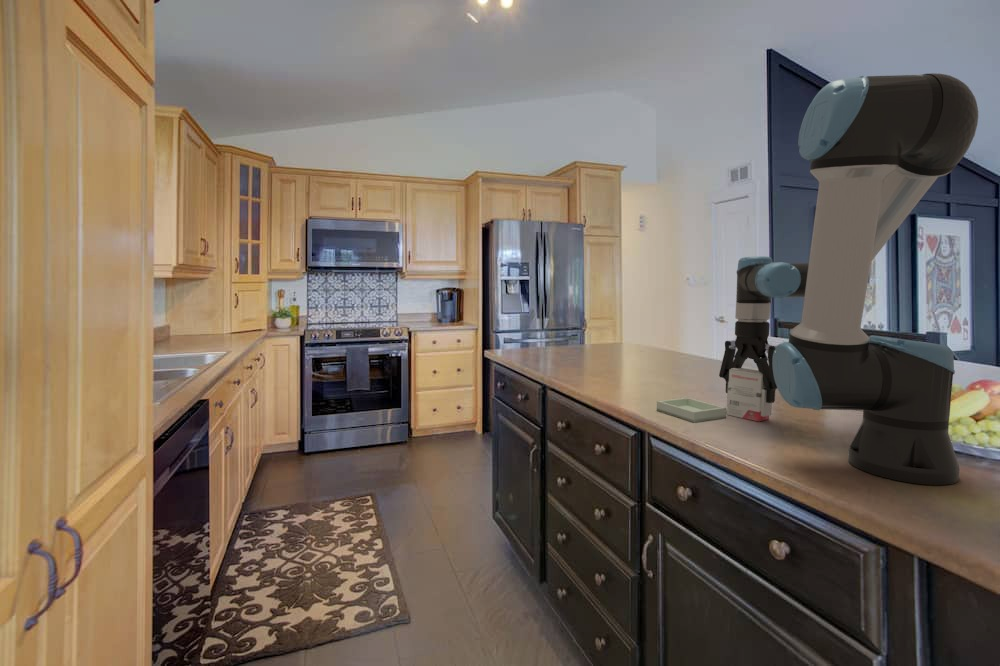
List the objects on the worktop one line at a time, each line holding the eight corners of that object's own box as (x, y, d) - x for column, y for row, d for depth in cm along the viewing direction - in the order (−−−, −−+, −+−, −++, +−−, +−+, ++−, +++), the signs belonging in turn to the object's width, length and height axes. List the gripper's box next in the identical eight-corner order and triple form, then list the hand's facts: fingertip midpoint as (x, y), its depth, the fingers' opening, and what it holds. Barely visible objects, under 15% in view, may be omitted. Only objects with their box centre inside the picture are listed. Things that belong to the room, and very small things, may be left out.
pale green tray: (725, 417, 121) (726, 407, 121) (693, 422, 117) (693, 412, 117) (687, 406, 133) (687, 397, 133) (656, 410, 128) (656, 401, 128)
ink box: (770, 419, 120) (773, 371, 119) (759, 422, 117) (762, 373, 116) (736, 411, 127) (738, 366, 126) (725, 414, 124) (727, 368, 123)
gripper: (805, 323, 111) (800, 419, 114) (726, 317, 131) (723, 400, 133) (783, 324, 108) (778, 423, 111) (705, 318, 128) (702, 403, 130)
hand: (748, 410), depth 122 cm, fingers closed on ink box, 9 cm apart
